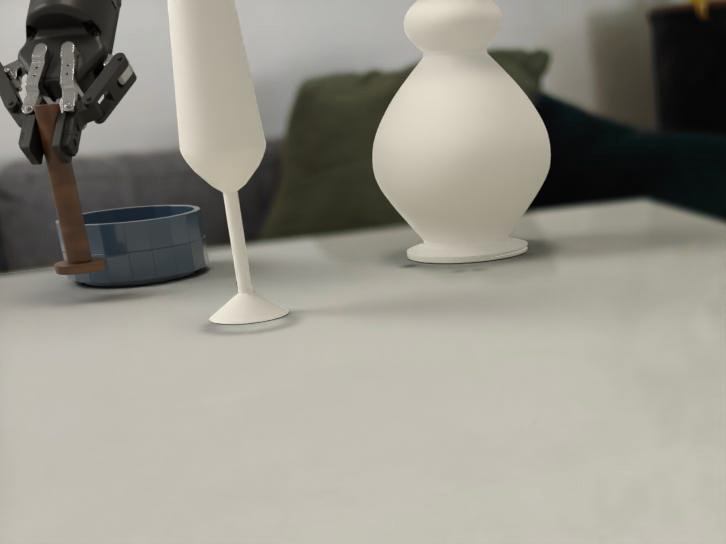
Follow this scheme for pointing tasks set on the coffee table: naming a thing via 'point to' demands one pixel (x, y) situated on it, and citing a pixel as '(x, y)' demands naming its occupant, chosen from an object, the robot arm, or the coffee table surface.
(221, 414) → the coffee table surface
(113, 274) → the bowl
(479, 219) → the decorative vase
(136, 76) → the robot arm
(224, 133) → the champagne flute
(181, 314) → the coffee table surface
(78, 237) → the stirring stick
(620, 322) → the coffee table surface
